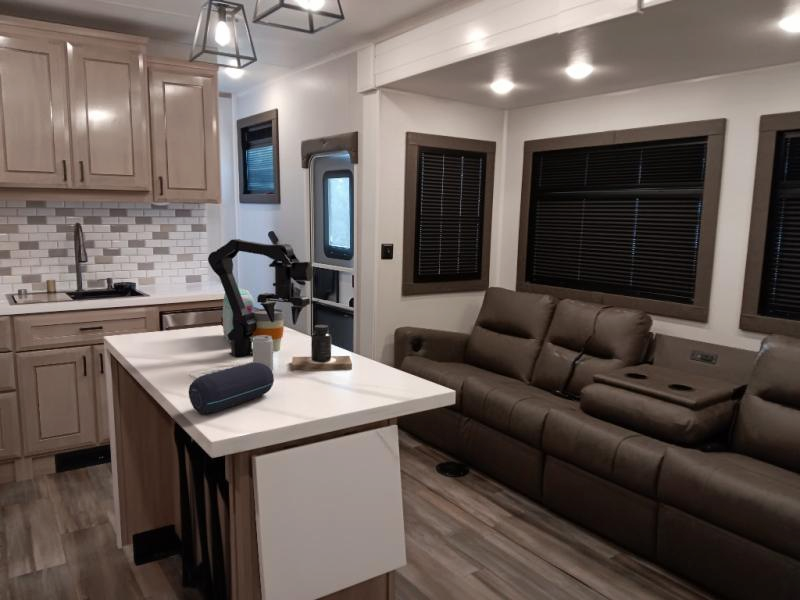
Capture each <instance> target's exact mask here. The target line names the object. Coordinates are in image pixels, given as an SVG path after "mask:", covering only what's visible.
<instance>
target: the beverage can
mask: <svg viewBox="0 0 800 600" xmlns="http://www.w3.org/2000/svg"><path fill="white" fill-rule="evenodd" d="M252 354H253V355H252V362H254V363H262V364H265V365H267V366H268V367H269V368H270V369H271V370H272V372H273V371H274V352H273V340H272V337H271V336H269V335H259V336H255V337H254V340H253V342H252Z"/></svg>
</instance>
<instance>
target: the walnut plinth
mask: <svg viewBox="0 0 800 600" xmlns="http://www.w3.org/2000/svg"><path fill="white" fill-rule="evenodd" d="M291 362H292V363H291V371H292V370H301V371H332V370H333V371H337V370H339V371H340V370H353V363H352V360H351V356H350V355H331V360H330V361H328V362H315V361H312V359H311V356H292V361H291Z"/></svg>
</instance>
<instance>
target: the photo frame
mask: <svg viewBox="0 0 800 600" xmlns="http://www.w3.org/2000/svg"><path fill="white" fill-rule="evenodd" d="M232 367H233V366H225V367H220V368H219V367H218V368H214V369H208V370H202V371H195V372H189V373H188V375H189V376H190V377H192V378H193V379H196V378H199V377H200V376H203V375H205V374H211V373H213V372H218V371H220V370H225V369H227V368H228V369H229V368H232Z"/></svg>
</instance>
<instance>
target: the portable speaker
mask: <svg viewBox="0 0 800 600" xmlns="http://www.w3.org/2000/svg"><path fill="white" fill-rule="evenodd" d="M274 377H275V376H274V373H273V371H272V370H271V369H270V368H269V367H268V366H267V365H265V364H262V363H254V362H253V361H251V362H247V363H245V364H239V365H237V366H232V368H229V369H228V368H227V369H225V370H220V371H218V372H213V373H211V374H205V375H203V376H200V377H199V378H194V380H193V381H192V383H190V385H189V387H188V398H189V401H190V404H191V405H192V407H193V409H194V410H196V412H197V413H200V414H212V412H213V413H215V411H216V412H218V410H219V411H221V410H224V409H227V408H231V407H233V406H236V405H238V404H242V403H245V402H248V401H251V400H253V399H256V398H260V397H262V396H263V395H265V394H267V393H268V392H269V391H270V390H271V389H272V387H273V385H274V381H275V379H274Z"/></svg>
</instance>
